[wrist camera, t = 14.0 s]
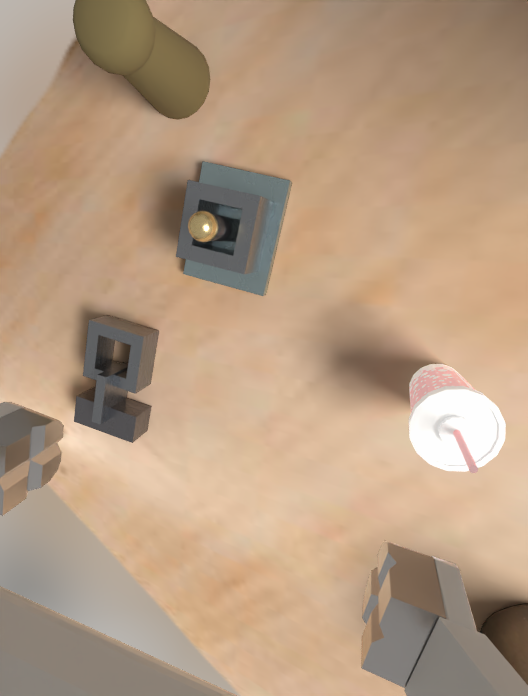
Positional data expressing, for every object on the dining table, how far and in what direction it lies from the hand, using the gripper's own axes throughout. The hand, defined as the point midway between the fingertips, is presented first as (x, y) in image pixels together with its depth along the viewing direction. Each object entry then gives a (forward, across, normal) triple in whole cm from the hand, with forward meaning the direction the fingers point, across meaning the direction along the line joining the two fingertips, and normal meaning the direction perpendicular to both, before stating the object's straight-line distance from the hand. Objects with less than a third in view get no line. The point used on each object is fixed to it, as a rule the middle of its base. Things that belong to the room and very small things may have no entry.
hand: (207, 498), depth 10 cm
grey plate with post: (+29, +10, -5) cm, 31 cm away
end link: (+28, +10, -5) cm, 30 cm away
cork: (+29, +18, -16) cm, 38 cm away
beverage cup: (+29, -11, +4) cm, 32 cm away
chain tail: (+29, +19, +12) cm, 37 cm away
